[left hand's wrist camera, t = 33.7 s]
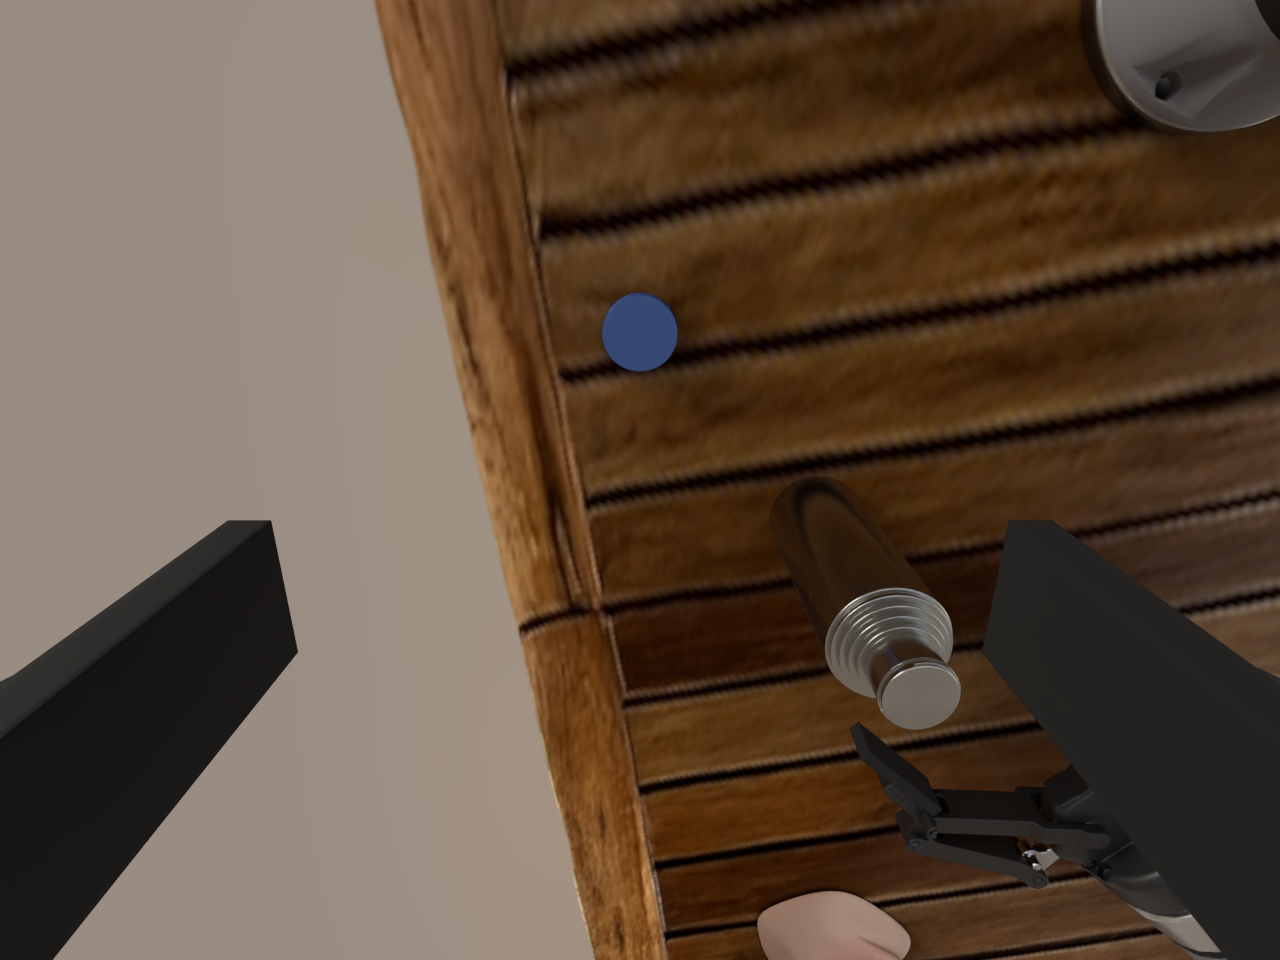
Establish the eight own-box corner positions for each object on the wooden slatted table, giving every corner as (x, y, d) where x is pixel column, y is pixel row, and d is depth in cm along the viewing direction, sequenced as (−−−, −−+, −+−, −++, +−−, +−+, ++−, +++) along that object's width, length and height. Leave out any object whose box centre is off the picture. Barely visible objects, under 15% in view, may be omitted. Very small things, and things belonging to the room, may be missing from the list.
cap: (628, 276, 42) (628, 278, 40) (691, 318, 43) (693, 322, 41) (589, 341, 43) (587, 345, 42) (651, 380, 44) (651, 386, 42)
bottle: (860, 552, 48) (991, 747, 30) (773, 563, 49) (851, 763, 31) (857, 470, 46) (997, 628, 28) (766, 482, 46) (846, 646, 28)
